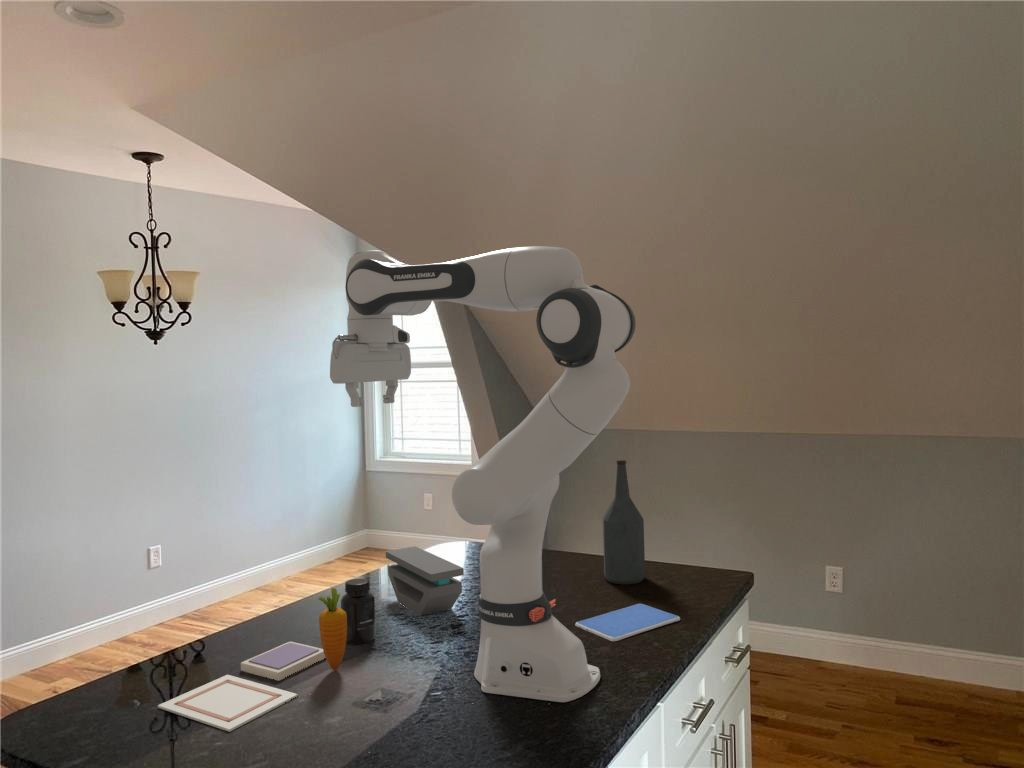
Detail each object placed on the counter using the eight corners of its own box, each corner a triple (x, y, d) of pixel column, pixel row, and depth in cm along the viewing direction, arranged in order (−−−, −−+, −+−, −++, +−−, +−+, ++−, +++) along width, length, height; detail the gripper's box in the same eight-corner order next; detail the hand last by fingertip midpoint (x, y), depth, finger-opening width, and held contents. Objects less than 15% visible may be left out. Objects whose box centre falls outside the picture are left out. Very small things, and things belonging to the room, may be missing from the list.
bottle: (647, 584, 189) (644, 462, 188) (607, 585, 189) (603, 463, 188) (641, 572, 199) (637, 456, 198) (602, 573, 199) (599, 457, 198)
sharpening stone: (465, 617, 169) (463, 568, 169) (432, 624, 165) (430, 574, 165) (417, 590, 191) (415, 546, 190) (387, 596, 186) (385, 551, 186)
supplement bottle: (368, 646, 154) (365, 586, 153) (336, 645, 155) (333, 585, 155) (380, 634, 160) (378, 577, 160) (350, 633, 162) (347, 576, 161)
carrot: (335, 678, 139) (331, 595, 138) (315, 673, 141) (312, 591, 141) (354, 668, 143) (351, 588, 142) (335, 663, 145) (331, 584, 145)
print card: (297, 696, 132) (297, 693, 132) (229, 731, 120) (229, 728, 120) (227, 676, 141) (227, 673, 141) (157, 707, 129) (157, 704, 129)
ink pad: (327, 657, 149) (326, 648, 149) (278, 680, 138) (278, 671, 138) (290, 648, 154) (290, 640, 154) (241, 670, 144) (240, 661, 143)
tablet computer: (613, 644, 152) (613, 638, 152) (573, 627, 162) (572, 621, 162) (682, 622, 163) (682, 616, 163) (640, 607, 173) (640, 602, 173)
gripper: (345, 333, 142) (348, 408, 142) (415, 334, 159) (417, 401, 160) (320, 335, 145) (323, 408, 145) (391, 335, 162) (393, 401, 163)
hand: (373, 404), depth 153 cm, fingers open, 8 cm apart
